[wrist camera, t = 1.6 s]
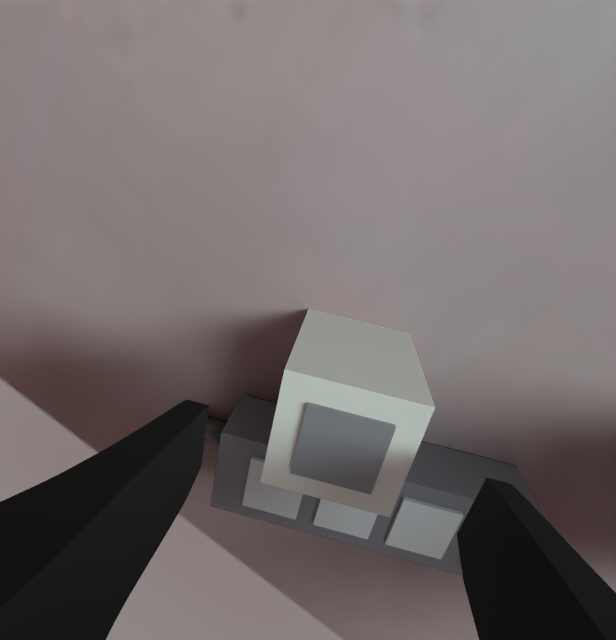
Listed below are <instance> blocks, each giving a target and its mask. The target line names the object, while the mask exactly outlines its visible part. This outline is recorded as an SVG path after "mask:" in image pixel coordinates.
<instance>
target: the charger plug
mask: <svg viewBox="0 0 616 640" xmlns="http://www.w3.org/2000/svg"><path fill="white" fill-rule="evenodd" d="M434 409H435V406H434V403H433V400H432V397H431V394H430V391H429V388H428V385H427V382H426V380H425V377H424V374H423V371H422V368H421V365H420V362H419V359H418V356H417V354H416V351H415V348H414V345H413V342H412V339H411V336H410V334H409V333H405V332H401V331H397V330H393V329H389V328H385V327H381V326H377V325H373V324H369V323H365V322H361V321H357V320H353V319H349V318H344V317H340V316H336V315H332V314H328V313H324V312H320V311H316V310H312V309H308V311H307V314H306V316H305V319H304V321H303V324H302V326H301V329H300V331H299V334H298V336H297V339H296V341H295V344H294V347H293V349H292V352H291V354H290V357H289V359H288V362H287V364H286V367H285V369H284V374H283V378H282V383H281V388H280V392H279V397H278V402H277V406H276V411H275V416H274V420H273V425H272V430H271V434H270V439H269V444H268V448H267V453H266V458H265V462H264V467H263V472H262V476H261V481H260V483H264V484H268V485H271V486H275V487H279V488H283V489H286V490H290V491H294V492H297V493H301V494H305V495H309V496H312V497H316V498H320V499H323V500H327V501H331V502H334V503H338V504H342V505H346V506H349V507H353V508H357V509H360V510H364V511H368V512H372V513H375V514H379V515H383V516H386V517H390V516H391V513H392V511H393V509H394V506H395V504H396V501H397V499H398V496H399V494H400V492H401V489H402V487H403V484H404V482H405V480H406V477H407V475H408V472H409V470H410V467H411V465H412V463H413V460H414V458H415V455H416V453H417V450H418V448H419V446H420V443H421V441H422V438H423V436H424V434H425V431H426V429H427V426H428V424H429V421H430V419H431V417H432V414H433V412H434Z"/></svg>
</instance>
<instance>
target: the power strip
mask: <svg viewBox="0 0 616 640" xmlns="http://www.w3.org/2000/svg"><path fill="white" fill-rule="evenodd" d="M276 406H277V403H273V402H269V401H265V400H261V399H257V398H253V397H250V396H246V395H242V396H241V398H240V400H239V401H238V403H237V405H236V407H235V409H234V410H233V412H232V414H231V416H230V418H229V419H228V421H227V423H226V422H222V421H218V420H214V419H211V418H207V424H206V432H205V439H206V440H210V441H214V442H218V443H220V444H219V451H218V458H217V464H216V471H215V478H214V484H213V491H212V498H211V504H210V506H212V507H216V508H220V509H223V510H227V511H230V512H234V513H238V514H241V515H245V516H249V517H252V518H256V519H260V520H263V521H267V522H270V523H274V524H278V525H281V526H285V527H289V528H292V529H296V530H299V531H303V532H307V533H310V534H314V535H318V536H321V537H325V538H328V539H332V540H336V541H339V542H343V543H347V544H350V545H354V546H358V547H361V548H365V549H368V550H372V551H376V552H379V553H383V554H387V555H390V556H394V557H397V558H401V559H405V560H408V561H412V562H416V563H419V564H423V565H426V566H430V567H434V568H437V569H441V570H445V571H448V572H452V573H456V574H459V575H463V574H462V568H461V562H460V555H459V547H458V540H457V533H458V531H459V529H460V527H461V525H462V523H463V521H464V519H465V517H466V515H467V514H468V512H469V510H470V508H471V506H472V504H473V502H474V500H475V498H476V496H477V494H478V493H479V491H480V489H481V487H482V485H483V483H484V481H485V479H486V477H487V478H491V479H495V480H499V481H503V482H507V483H510V484H512V485H513V486H514V487H515V488H516V489H517V490H518V491H519V492H520V493H521V494H522V495H523V496H524V497H525V498H526V499H527V500H528V501H529V502H530V503H531V504H532V505H533V506H534V507H535V508H536V509H537V510H538V512H539V513H540V514H541V515H542V516H543V514H542V512H541V510H540V509H539V507H538V505H537V503H536V501H535V500H534V498H533V496H532V494H531V493H530V491H529V489H528V487H527V485H526V484H525V482H524V480H523V478H522V476H521V475H520V473H519V471H518V469H517V467H516V466H515V465H511V464H508V463H504V462H500V461H496V460H492V459H488V458H484V457H481V456H477V455H473V454H469V453H465V452H461V451H457V450H454V449H450V448H446V447H442V446H438V445H434V444H431V443H427V442H423V441H421V443H420V446H419V448H418V450H417V453H416V455H415V458H414V460H413V463H412V465H411V467H410V470H409V472H408V475H407V477H406V480H405V482H404V484H403V487H402V489H401V492H400V494H399V496H398V499H397V501H396V504H395V506H394V509H393V511H392V513H391V516H390V517H386V516H383V515H379V514H375V513H372V512H368V511H364V510H360V509H357V508H353V507H349V506H346V505H342V504H338V503H334V502H331V501H327V500H323V499H320V498H316V497H312V496H309V495H305V494H301V493H297V492H294V491H290V490H286V489H283V488H279V487H275V486H271V485H268V484H264V483H260V481H261V476H262V472H263V467H264V462H265V458H266V453H267V448H268V444H269V439H270V434H271V430H272V425H273V420H274V416H275V411H276ZM543 517H544V516H543Z"/></svg>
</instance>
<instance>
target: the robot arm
mask: <svg viewBox="0 0 616 640" xmlns="http://www.w3.org/2000/svg"><path fill="white" fill-rule="evenodd" d="M208 409H209V405H205V404H201V403H197V402H193V401H190V400H185V401H183V402H181V403H180V404H178V405H177V406H175V407H173V408H172V409H170V410H169V411H167V412H165V413H164V414H162V415H161V416H159V417H158V418H156V419H154V420H153V421H151V422H150V423H148V424H146V425H145V426H143V427H142V428H140V429H138V430H137V431H135V432H133V433H132V434H130V435H128V436H127V437H125V438H123V439H122V440H120V441H118V442H117V443H115V444H113V445H112V446H110V447H108V448H107V449H105V450H103V451H101V452H99V453H98V454H96V455H94V456H92V457H90V458H89V459H87V460H85V461H83V462H81V463H79V464H78V465H76V466H74V467H72V468H70V469H68V470H66V471H65V472H62V473H61V474H59V475H57V476H55V477H53V478H51V479H49V480H47V481H45V482H43V483H40V484H38V485H36V486H34V487H32V488H30V489H28V490H25V491H23V492H21V493H19V494H17V495H15V496H12V497H10V498H8V499H6V500H4V501H1V502H0V640H106V638H107V636H108V634H109V632H110V630H111V628H112V626H113V624H114V622H115V620H116V618H117V616H118V615H119V613H120V611H121V609H122V607H123V606H124V603H125V602H126V600H127V598H128V597H129V595H130V593H131V591H132V590H133V588H134V586H135V585H136V583H137V581H138V580H139V578H140V577H141V575H142V573H143V571H144V570H145V568H146V567H147V565H148V563H149V561H150V560H151V558H152V557H153V555H154V553H155V552H156V550H157V548H158V547H159V545H160V543H161V541H162V540H163V538H164V536H165V535H166V533H167V531H168V530H169V528H170V526H171V525H172V523H173V521H174V520H175V518H176V516H177V515H178V513H179V511H180V509H181V508H182V506H183V504H184V502H185V500H186V498H187V496H188V494H189V492H190V490H191V487H192V485H193V483H194V481H195V479H196V476H197V474H198V472H199V470H200V467H201V463H202V455H203V447H204V440H205V432H206V424H207V417H208ZM457 540H458V547H459V555H460V562H461V568H462V574H463V580H464V584H465V588H466V592H467V595H468V599H469V603H470V607H471V610H472V614H473V618H474V622H475V625H476V629H477V633H478V636H479V640H616V593H615V592H614V591H613V590H612V589H611V588H610V587H609V586H608V585H607V584H606V583H605V581H604V580H603V579H602V578H601V577H600V576H599V575H598V574H597V573H596V572H595V571H594V570H593V569H592V568H591V567H590V566H589V565H588V564H587V563H586V562H585V561H584V560H583V558H582V557H581V556H580V555H579V554H578V553H577V552H576V551H575V550H574V549H573V548H572V547H571V546H570V545H569V544H568V543H567V541H566V540H565V539H564V538H563V537H562V536H561V535H560V534H559V533H558V532H557V531H556V530H555V529H554V528H553V526H552V525H551V524H550V523H549V522H548V521H547V520H546V519H545V518H544V517H543V516H542V515H541V514H540V513H539V512H538V510H537V509H536V508H535V507H534V506H533V505H532V504H531V503H530V502H529V501H528V500H527V499H526V498H525V497H524V496H523V495H522V494H521V493H520V492H519V491H518V490H517V489H516V488H515V487H514V486H513V485H512V484H510V483H507V482H503V481H499V480H495V479H491V478H487V477H486V479H485V481H484V483H483V485H482V487H481V489H480V491H479V493H478V494H477V496H476V498H475V500H474V502H473V504H472V506H471V508H470V510H469V512H468V514H467V515H466V517H465V519H464V521H463V523H462V525H461V527H460V529H459V531H458V533H457Z"/></svg>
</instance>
